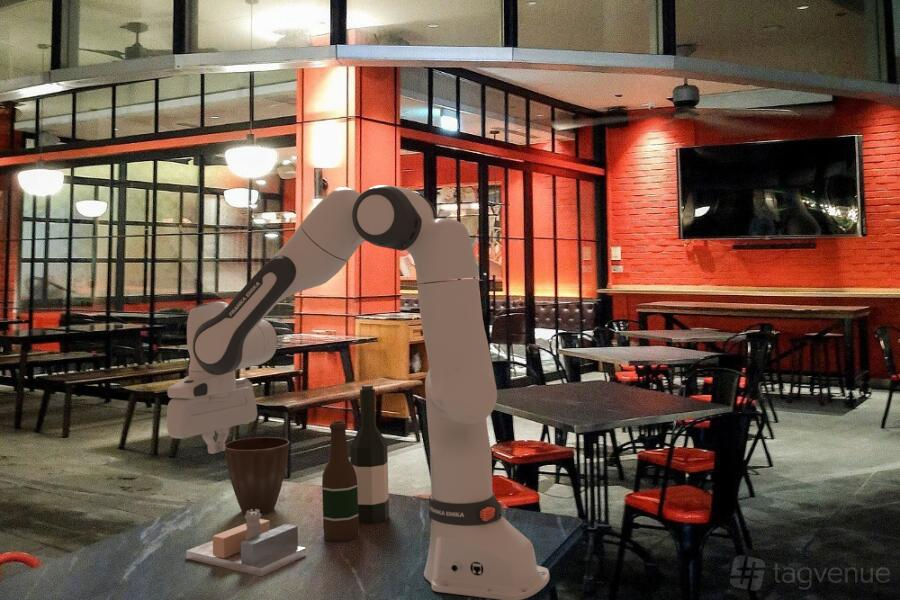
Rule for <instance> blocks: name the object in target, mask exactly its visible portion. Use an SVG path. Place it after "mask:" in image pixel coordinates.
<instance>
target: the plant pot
mask: <svg viewBox="0 0 900 600" xmlns="http://www.w3.org/2000/svg"><path fill="white" fill-rule="evenodd" d="M289 449H290V440H289V439H287V438H285V437H274V436H273V437H272V436H262V437H261V436H257V437H247V438H240V439H236V440H232V441H229V442H227V443H226V442H225V450H224V454H225V455H224V456H225V460H226V466H227V470H228V475H229V478H230V479H229V480H230V481H231V482H230V483H231V486H232V489H233V491H234V495H235V498H236V500H237V503H238V506H239V509H240V510H241V511H240V512H242V514H244V515H246V512H247V511H248V510H249V512H250V510H252V509H253V512H255V509H258V510H260V514H261V515H264V514H268V513H271V512H273V511H274V510H275V507H276V506H277V501H278V498H279V497H280V492H281V489H282V485H283V481H284V477H285V472H286V468H287V463H288V457H289Z"/></svg>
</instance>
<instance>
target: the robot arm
mask: <svg viewBox="0 0 900 600" xmlns="http://www.w3.org/2000/svg"><path fill="white" fill-rule="evenodd" d="M365 242H368V243H369V244H372V245H373V246H377V247H381V248H384V249H391V250H396V251H401V252H402V251H407V253H409V254H410V256H411V258H412V260H413V262H414V263H413V264H414V269H415V277H416V284H417V285H416V287H417V296H418V305H419V307H418V308H419V315H420V323H421V324H420V325H421V331H422V334H423V335H422V336H423V340H424V346H425V351H426V357H427V363H428V371H427V372H426V375H425V381H424V389H425V405H426V420H427V432H428V442H429V455H430V459H429V460H430V463H429V465H430V492H431V493H430V495H429V496H428V515H429V516H428V517H429V518H428V519H429V522H430V534H429V535H430V536H429V547H428V552H427V553H428V554H427V558H426V564H425V566H424V570H423V576H424V578H425V579H426V580H427V581H428V582H429V583H430V585H431V590H432V591H434V592H437V593H445V594H452V595H460V596H461V595H462V596H470V597H475V598H477V597H478V598H484V599H492V600H493V599H495V600H524V599H527V598H529V597H532V596H533V595H536V594H537V593H538V592H540V591H541V590H542V589H544V588H545V587H546V585H547V584H548V583H549V581H550V576H551V575H550V570H549V568H547V567H544V566H540V565H538V564H537V563H538V562H537V558H536V552H535V549H534V545H533V543H532V542H531V540H530V539H528V537H526V536H525V535H524V534H523V533H522V532H520V530H518V529H517V528H516V527H514V525H512V524H511V523H510V521H508V520H507V519H506V518H505V517H503V513H502V509H503V508H505V507H506V504H505V503H506V502H507V501H506V499H503V500H501V501H499V500H498V499H497V497H496V495H495V494H494V493H493V467H492V465H493V463H492V459H493V458H492V448H491V442H490V438H489V430H488V422H487V421H488V420H487V418H488V417H489V416H490V415H491V414H492V413H493V411H494V409H495V407H496V406H497V405H496V404H497V400H498V389H497V385H496V384H497V383H496V378H495V373H494V367H493V366H494V365H493V361H492V357H491V352H490V347H489V343H488V342H489V341H488V338H487V333H486V330H485V325H484V320H483V319H484V318H483V309H482V301H481V292H480V284H479V283H480V281H479V278H478V277H479V274H478V273H479V272H478V267H477V260H476V256H475V252H474V246H473V244H472V240H471V237H470V233H469V231H468V228H467V227H466V226H465V224H463V223H462V222H460V221H458V220H456V219H452V218H445V217H444V218H438V214H437V210H436V208H435V206H434V205H433V203H432V202H431V201H430V199H428V198H427V197H426V196H424V194H421V193H419V192H414V191H413V190H411V189H409V188H406V187H404V186H403V187H401V186H397V185H394V186H392V185H388V184H382V185H380V184H379V185H375V186H373V187H370V188H368V189H366V190H365V191H363V192H359V191H357V190H355V189H353V188H348V187H337V188H335V189H333V190H332V191H331V192H330V193H328V194H327V195H326V196H325V197H324V198H323V199H322V200H321V201H320V202H318V203H317V205H316V206H314V208H313V209H312V210H311V211H310V213H308V215H307V216H306V217H305V219H304V220H303V221H302V222H301V224H300V225H299V226H298V227H297V228H296V230H295V232H294V233H292V235H291V236H290V238H289V239H288V240H287V241H286V242H285V243H284V244H283V246H282V247H281V248H280V249H279V250H278V251H277V252H276V253H275V254H274V255H273V256H272V257H271V258H270V259H269V260H268V261H267V262H266V263H265V264H264V265H263V266H262V267H261V268H260V269H259V270H258V271H257V273H255V274H254V276H253V277H251V278H250V280H249V281H248V282H247V283H246V284H245V285H244V287H243V288H242V289H241V290H240V291H239V292H238V294H237V295H236V296H234V298H233V299H232V300H231V301H230V302H229V303H228V302H226V301H212V302H206V303H202V304H201V303H200V304H198V305H195V306H194V307H193V308H192V309H190V310H189V313H188V316H187V321H186V345H187V351H188V353H189V357H190V358H189V365H188V375H187V376H185V377H184V378H182V379H180V380H179V381H177V382H175V383H174V384H172V385H171V386H169V387H168V388H167V396H168V398H170V400H169V402H168V404H167V406H166V407H167V408H166V427H167V428H166V429H167V433H168V435H169V436H170V437H171V438H173V439H181V440H182V439H186V438H190V437H195V436H199V435H201V438H202V439H203V441H204V443H206V445H207V453H208V454H210V455H211V454H212V455H213V454H217V453H222V452H225V444H226V441H227V438H228V437H229V434H230V428H231V427H235V426H240V425H244V424H248V423H253V422H255V421H256V420H257V417H258V409H257V408H258V405H257V401H256V395H255V392H254V388H253V386H254V385H253V382H251V380H249V379H248V378H247V377H242V378H238V379H236V371H237V370H242V369H245V368H246V369H247V368H250V367H255V366H258V365H262V364H265V363H266V362H269V361H270V360H271V359H272V358H273V357H274V355H275V354H276V352H277V350H278V344H279V340H278V334H277V330H275V327H274V325H272V323H271V322H270V321H268V319H265V317H266V316H268V314H269V313H271V311H272V310H273V308H274V307H275V306H276V305H277V304H279V303H280V302H282V301H283V300H285V299H286V298H288V297H291V296H292V295H295V294H297V293H300V292H303V291H306V290H311V289H313V288H315V287H320V286H322V285H324V284H326V283H328V282H329V281H330V280H331V279H332V278H334V277H335V276H336V275H337V274H338V273H339V272H340V271H342V269H343V268H344V266H345V265H346V264H347V263H348V261H349V260H350V259H351V257H353V255H354V253H356V251H357V250H358V248H360V247H361V246H362V244H363V243H365ZM215 434H217V438H216V441H215V439H214V437H215Z"/></svg>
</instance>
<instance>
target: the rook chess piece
mask: <svg viewBox="0 0 900 600" xmlns="http://www.w3.org/2000/svg"><path fill="white" fill-rule="evenodd" d="M262 515H263V514H260V510H258V509H255V512H253V509H252V510H250V512H249V510H248V511H247V512H246V514H244V519H245V520H246V523H245V524H246V526H247V533H246V539H245V540H247V539H250V538H252V537H255V536H257V535H260V534H261V532H260V524H261V523H260V521H259V520H260V519H261V517H262ZM245 540H244V541H245Z"/></svg>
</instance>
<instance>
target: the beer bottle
mask: <svg viewBox="0 0 900 600" xmlns="http://www.w3.org/2000/svg"><path fill="white" fill-rule="evenodd" d="M347 428H348V427H347V423H346V422H345V421H341V420H339V421H338V420H337V421H332V422H330V423H329V429H330V448H329V449H330V453H329V460H328V462H327V463H326V465H325V467H324V469H323V473H322V475H321V476H322V478H321V479H322V480H321V484H322V485H321V489H322V490H321V491H322V493H321V494H322V517H323V518H322V521H323V523H322V525H323V538H324V540H325V541H328V542H333V543H339V542H340V543H341V542H343V543H344V542H349V541H352V540H354V539H356V538H358V537H359V528H360V527H359V524H360V523H358V487H357V476H356V472H355V470H354V467H353V465H352V464H351V460H350V459H349V454H348V446H347V443H348V442H347V433H346V432H347V431H346V429H347Z"/></svg>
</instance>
